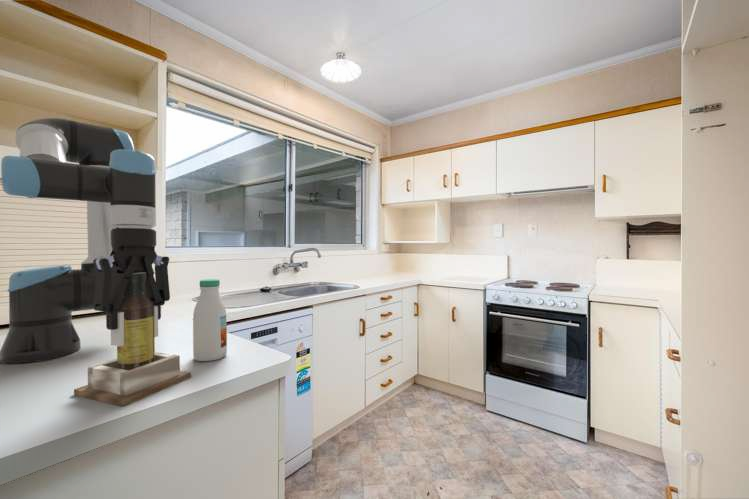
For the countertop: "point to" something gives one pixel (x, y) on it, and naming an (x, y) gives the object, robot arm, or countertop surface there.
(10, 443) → the countertop surface
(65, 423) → the countertop surface
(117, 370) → the socket board
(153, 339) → the sauce bottle
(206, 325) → the milk bottle
